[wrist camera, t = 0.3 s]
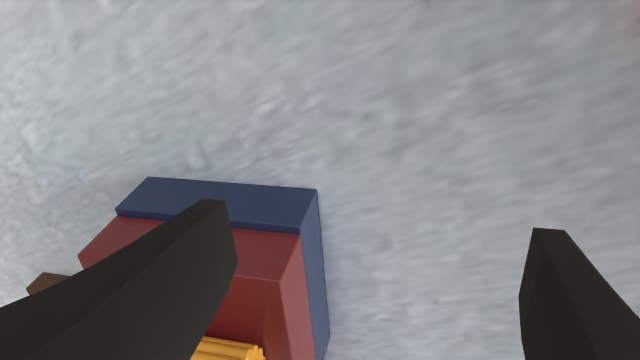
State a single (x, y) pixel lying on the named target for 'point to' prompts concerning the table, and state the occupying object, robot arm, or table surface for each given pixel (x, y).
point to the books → (245, 259)
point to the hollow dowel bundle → (226, 350)
